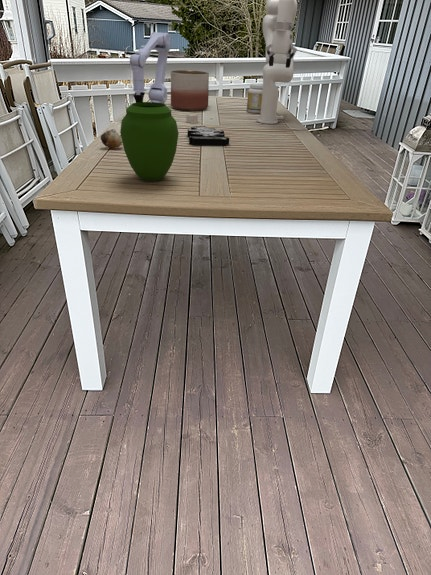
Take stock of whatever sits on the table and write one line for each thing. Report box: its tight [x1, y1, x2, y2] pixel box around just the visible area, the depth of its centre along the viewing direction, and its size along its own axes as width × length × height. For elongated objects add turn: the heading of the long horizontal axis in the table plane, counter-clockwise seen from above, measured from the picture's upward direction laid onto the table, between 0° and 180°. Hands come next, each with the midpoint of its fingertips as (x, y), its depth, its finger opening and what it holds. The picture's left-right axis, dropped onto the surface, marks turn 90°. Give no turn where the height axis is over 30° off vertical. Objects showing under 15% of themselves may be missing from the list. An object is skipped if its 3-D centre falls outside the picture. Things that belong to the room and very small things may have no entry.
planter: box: [170, 69, 210, 112], centre depth 273 cm, size 25×25×22 cm
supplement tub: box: [246, 83, 263, 114], centre depth 274 cm, size 12×12×17 cm
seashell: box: [100, 128, 123, 149], centre depth 178 cm, size 10×6×8 cm, turn 91°
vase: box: [119, 101, 179, 182], centre depth 140 cm, size 20×20×24 cm
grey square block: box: [185, 113, 199, 125], centre depth 238 cm, size 5×5×4 cm
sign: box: [187, 125, 230, 147], centre depth 203 cm, size 19×3×30 cm
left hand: (139, 107), depth 226 cm, fingers open, 7 cm apart
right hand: (279, 66), depth 210 cm, fingers open, 9 cm apart
